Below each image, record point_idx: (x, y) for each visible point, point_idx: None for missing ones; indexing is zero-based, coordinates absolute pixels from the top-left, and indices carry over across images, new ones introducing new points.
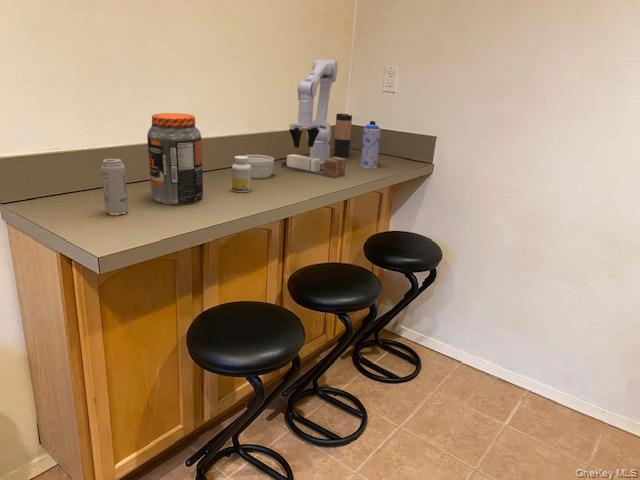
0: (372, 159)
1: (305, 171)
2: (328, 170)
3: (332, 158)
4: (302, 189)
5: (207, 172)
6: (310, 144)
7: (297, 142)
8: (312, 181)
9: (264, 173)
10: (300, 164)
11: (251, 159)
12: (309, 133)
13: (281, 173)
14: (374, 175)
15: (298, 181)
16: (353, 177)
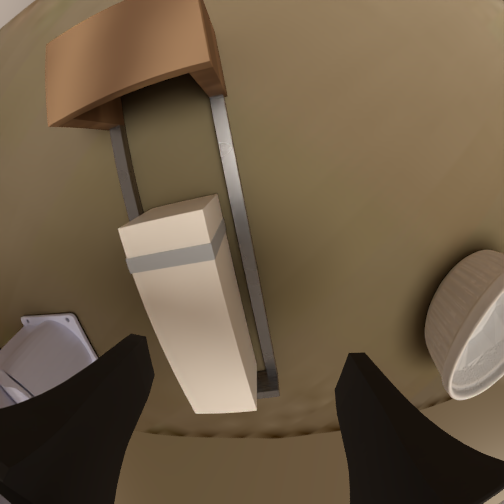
0: None
1: (251, 237)
2: (215, 53)
3: (117, 64)
4: (479, 40)
5: None
6: (140, 371)
7: (393, 393)
8: (382, 59)
9: (502, 253)
10: (237, 308)
11: (460, 382)
12: (103, 486)
13: (383, 283)
14: (26, 37)
15: (436, 110)
16: None
